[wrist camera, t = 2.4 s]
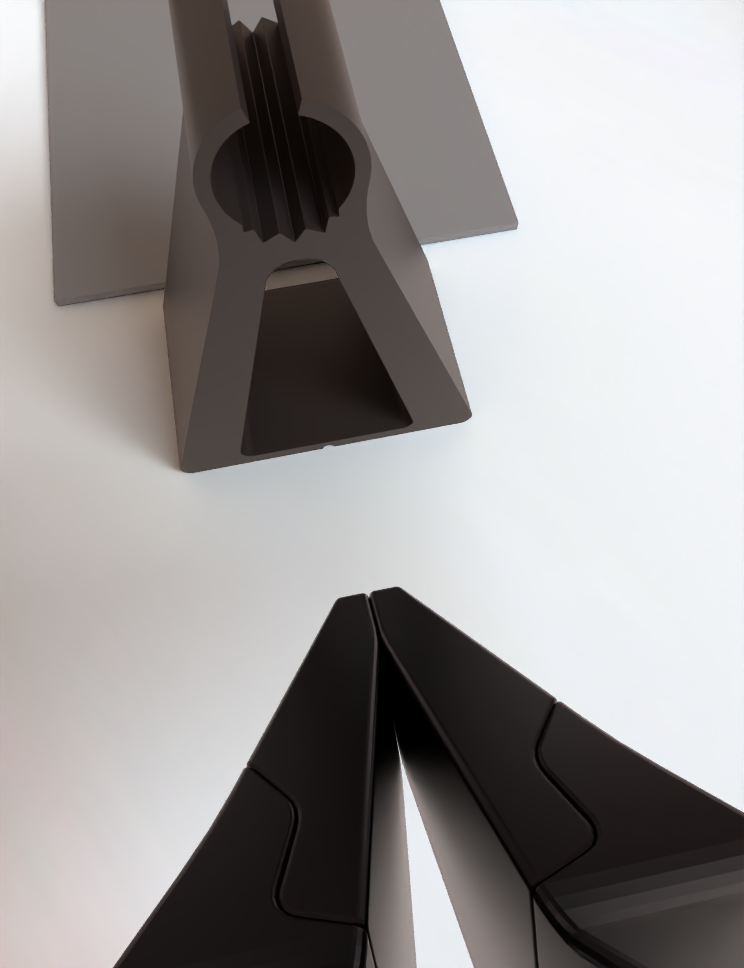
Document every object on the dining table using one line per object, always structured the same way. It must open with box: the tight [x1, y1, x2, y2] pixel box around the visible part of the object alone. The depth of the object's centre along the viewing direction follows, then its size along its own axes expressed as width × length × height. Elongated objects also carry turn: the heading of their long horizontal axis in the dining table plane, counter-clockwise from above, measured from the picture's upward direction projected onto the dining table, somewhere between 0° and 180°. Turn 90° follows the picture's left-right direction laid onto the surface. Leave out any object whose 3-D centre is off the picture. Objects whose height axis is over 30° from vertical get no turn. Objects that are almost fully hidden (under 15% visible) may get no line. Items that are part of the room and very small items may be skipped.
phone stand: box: [163, 0, 472, 473], centre depth 17 cm, size 9×6×12 cm, turn 101°
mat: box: [45, 0, 518, 306], centre depth 27 cm, size 18×16×1 cm
